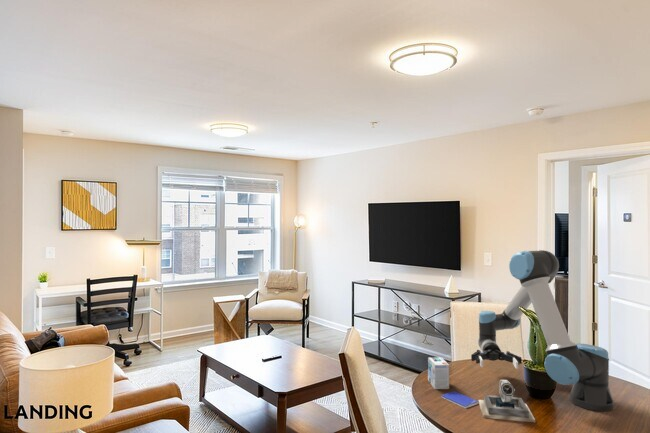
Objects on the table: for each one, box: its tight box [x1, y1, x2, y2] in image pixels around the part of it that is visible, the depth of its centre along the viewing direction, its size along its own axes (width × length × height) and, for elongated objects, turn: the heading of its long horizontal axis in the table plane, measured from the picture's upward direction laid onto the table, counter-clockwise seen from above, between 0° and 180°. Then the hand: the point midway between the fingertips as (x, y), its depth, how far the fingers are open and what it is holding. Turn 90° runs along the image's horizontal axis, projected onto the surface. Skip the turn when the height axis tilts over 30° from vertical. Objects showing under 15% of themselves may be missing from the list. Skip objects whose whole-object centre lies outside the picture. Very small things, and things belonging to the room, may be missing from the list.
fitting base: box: [477, 394, 536, 423], centre depth 166 cm, size 18×14×4 cm
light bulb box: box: [427, 356, 450, 390], centre depth 194 cm, size 11×7×11 cm, turn 3°
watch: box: [496, 379, 516, 408], centre depth 166 cm, size 6×8×11 cm
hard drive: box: [440, 390, 479, 409], centre depth 177 cm, size 2×8×12 cm
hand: (499, 364), depth 177 cm, fingers open, 13 cm apart
